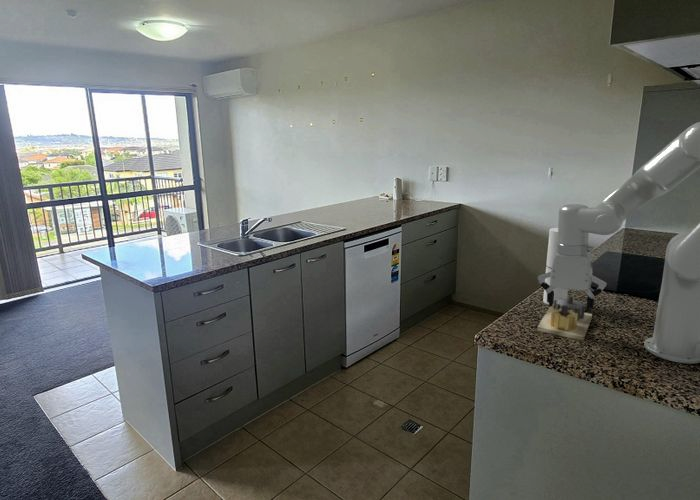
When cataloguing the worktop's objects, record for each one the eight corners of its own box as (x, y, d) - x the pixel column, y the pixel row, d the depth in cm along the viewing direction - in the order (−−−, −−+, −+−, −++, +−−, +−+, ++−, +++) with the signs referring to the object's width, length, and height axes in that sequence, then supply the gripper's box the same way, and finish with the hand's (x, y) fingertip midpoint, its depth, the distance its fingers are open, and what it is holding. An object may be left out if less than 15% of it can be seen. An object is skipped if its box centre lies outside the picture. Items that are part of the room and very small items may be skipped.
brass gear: (577, 324, 124) (579, 311, 123) (573, 332, 119) (575, 319, 118) (553, 319, 128) (554, 306, 127) (548, 327, 123) (549, 314, 122)
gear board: (591, 317, 131) (594, 295, 129) (583, 340, 117) (586, 316, 115) (549, 309, 138) (551, 289, 136) (537, 330, 124) (539, 307, 122)
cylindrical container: (546, 296, 149) (553, 226, 143) (568, 301, 145) (576, 229, 138) (540, 303, 144) (546, 230, 137) (563, 307, 139) (571, 233, 133)
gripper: (610, 248, 116) (605, 307, 120) (541, 244, 126) (540, 299, 130) (607, 255, 110) (603, 317, 114) (535, 250, 120) (534, 307, 124)
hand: (569, 307), depth 122 cm, fingers open, 9 cm apart
